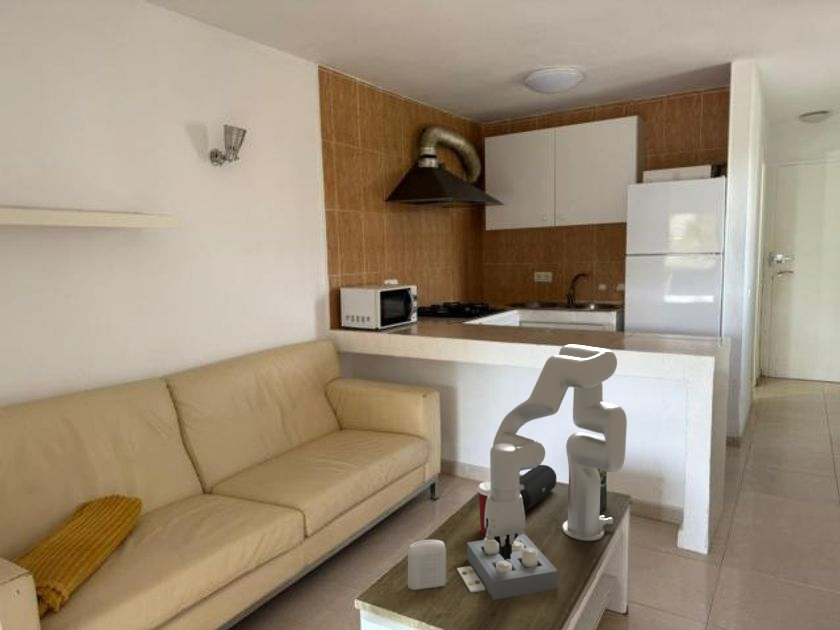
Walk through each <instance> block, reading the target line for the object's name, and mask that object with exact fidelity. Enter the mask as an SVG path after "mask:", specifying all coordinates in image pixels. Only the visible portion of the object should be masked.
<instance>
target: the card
mask: <svg viewBox="0 0 840 630" xmlns="http://www.w3.org/2000/svg"><path fill="white" fill-rule="evenodd" d="M457 572H458V574H459V575H460V577H461V579H462V581H463V582H464V584H465V585H466V587H467V589H468V590H469V592H470V593H477V592H482V591H484V592H485V591H486V588H485V586H484V585H483V583H482V581H481V580H480V578H479V577H478V575H477V574H476V572H475V571H474V569H473V567H472V566H471V565H468V566H463V567H462V566H461V567H457Z"/></svg>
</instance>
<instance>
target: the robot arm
mask: <svg viewBox="0 0 840 630" xmlns="http://www.w3.org/2000/svg"><path fill="white" fill-rule="evenodd" d="M558 353H559V354H555V355H552V356H550V357H548V358H547V359H546V361H545V362H544V365H543V367H542V369H541V371H540V374H539V376H538V378H537V381H536V382H535V384H534V387H533V389H532V392H531V393H530V396H529V397H528V398H527V399H526V400H525V401H523V402H521V403H520V404H518V405H516V406H515V407H514V408H513V409H512V410H511V411H509V412H508V413H507V414H506V415H505V417H503V419H502V421H501V423H500V425H499V427H498V428H497V431H496V433H495V436H494V439H493V442H492V443H493V444H492V447H491V448H490V451H489V452H490V453H489V454H490V456H489V463H490V464H489V467H490V468H489V469H490V476H489V477H490V478H489V479H490V480H489V482H491V484H490V486H491V494H490V495H488V497H487V501H486V507H485V518H484V526H485V529H487V532H486V535H485V538H487V539H488V540H496V541H497V542H498V543H499V554H500V555H501V556H502V557H503V559H504V560H507V559H511V554H512V544H513V543H514V540H515V539H516V538H517V537H518V536H520V535H522V534H525V532H526V531H525V529H526V513H525V512H526V511H525V512H524V505H523V500H522V496H521V494H520V491H521V490H524V485H520V477H521V476H520V473H521V471H525V470H526V471H527V470H531V469H532V468H535V467H537V466H539V465H542V463H543V461H544V459H545V457H546V450H545V447H544V445H543V444H542V443H541V442H539V441H537V440H534V439H532V438H528V437H525V436H522V435H519V434H517V433H518V432H519V430H520V428H522V427H523V426H524V425H525V424H527V423H530V422H531V421H534V420H538V419H542V418H546V417H550V416H554V415H555V414H556V413H558V411H559V410H560V407H561V404H562V402H563V400H564V398H565V396H566V393H567V391H568V389H569V388H573V398H572V399H573V404H572V421H573V424H574V425H575V427H577V428H579V429H581V430H584V431H588V432H590V433H587V432H580V431H578V432H574V433H572V434H571V435H569V436H568V438H567V440H566V445H565V451H566V457H567V463H568V492H567V493H568V497H567V498H568V500H567V501H568V502H567V503H568V504H567V520H565V521H564V522H563V523H562V531H563V533H564V534H565V535H567V536H568V537H570V538H572V539H575V540H579V541H585V542H592V541H598V540H600V539H602V538H603V537H604V536H605V528H604V527H605V526H606V525H612V524H614V518H612V517H611V516H610V517H605V515H603V514H602V515H601V514H600V512H601V511H600V486H601V480H600V475H599V472H598V470H597V469H600V470H603V471H607V473H610V474H611V473H613V474H614V473H618V472H619V471H621V469H622V468H623V466H624V463H625V459H626V448H627V447H626V445H627V444H626V443H627V427H628V425H627V424H628V423H627V422H628V421H627V420H628V418H627V415H626V412H625V409H623V407H621V406H620V405H618V404H615V403H610V402H605V401H604V399H603V398H604V397H603V387H604V386H603V382H605V381H607V380H608V379H610V378H611V377H612V376H613V375H614V374H615V372H616V370H617V366H618V358H617V356H616V354H615V353H614V352H613V351H612V350H610V349H607V348H602V347H594V346H588V345H581V344H566V345H564V346H562V347H561V348H560V350H559V352H558ZM591 432H592V433H591ZM593 433H596V434H600V435H603V436H604V437H603V436H599V435H596V434H593ZM504 537H505V538H504Z"/></svg>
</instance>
